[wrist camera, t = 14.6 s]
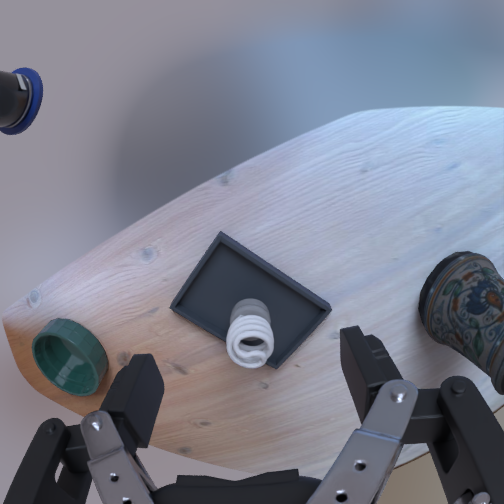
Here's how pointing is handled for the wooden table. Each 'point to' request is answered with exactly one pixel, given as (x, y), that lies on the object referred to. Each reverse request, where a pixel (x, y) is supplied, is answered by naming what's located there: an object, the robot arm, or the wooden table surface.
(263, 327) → the light bulb
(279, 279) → the tray
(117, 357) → the wooden table surface
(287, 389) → the wooden table surface
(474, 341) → the beer stein
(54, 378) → the bowl
